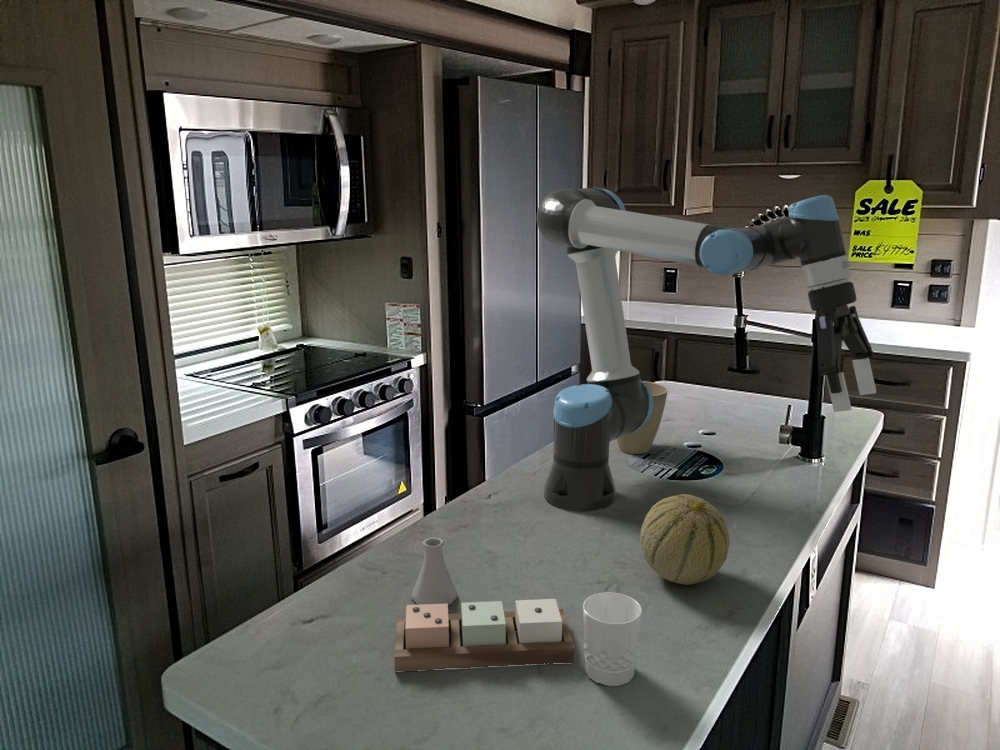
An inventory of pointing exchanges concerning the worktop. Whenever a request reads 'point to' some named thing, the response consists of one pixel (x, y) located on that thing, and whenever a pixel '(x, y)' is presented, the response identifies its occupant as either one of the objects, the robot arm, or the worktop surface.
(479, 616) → the tile
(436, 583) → the flask
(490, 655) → the board
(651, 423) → the plant pot
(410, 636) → the three-pip tile
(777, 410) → the worktop surface
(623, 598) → the white cup
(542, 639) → the tile
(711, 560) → the cantaloupe
